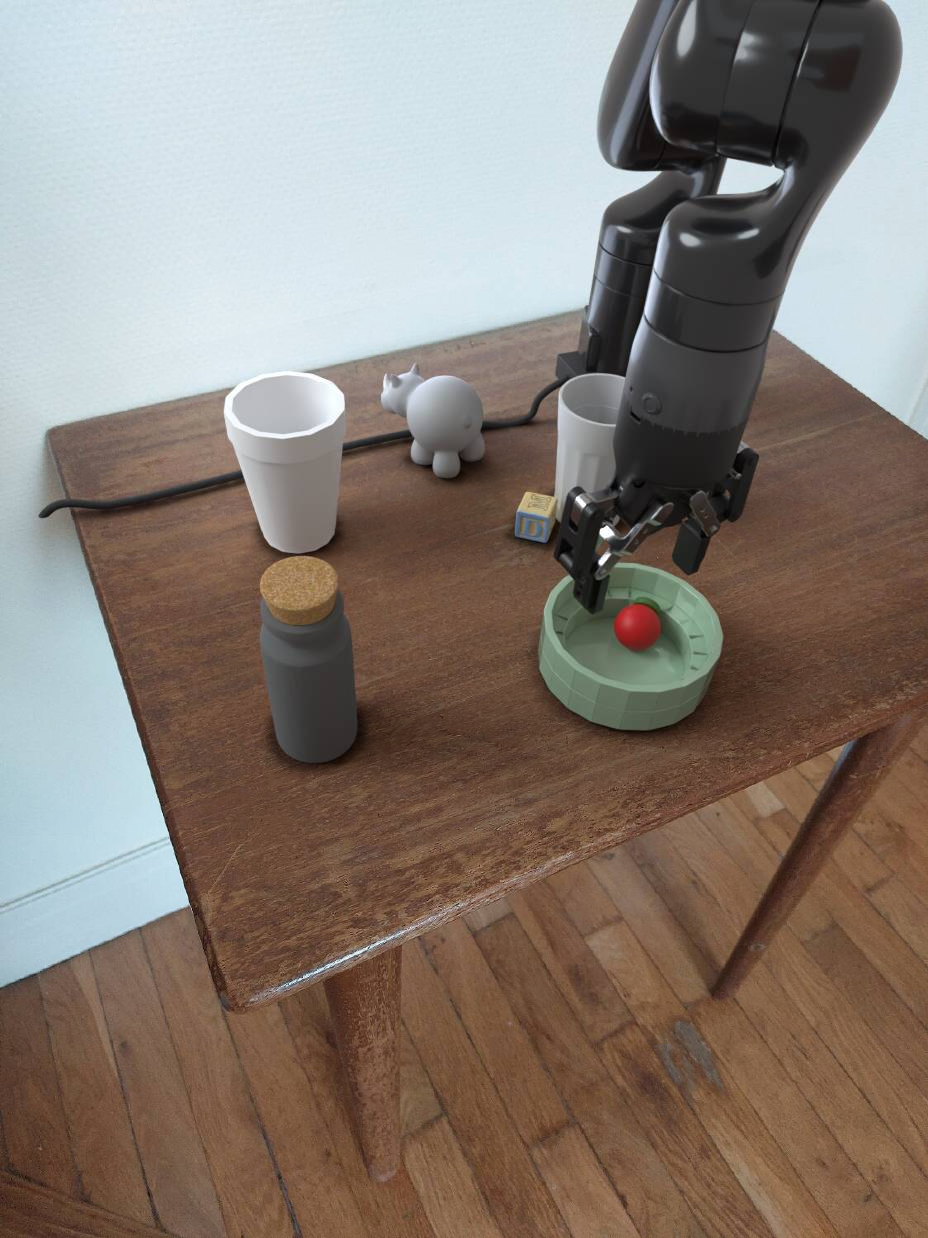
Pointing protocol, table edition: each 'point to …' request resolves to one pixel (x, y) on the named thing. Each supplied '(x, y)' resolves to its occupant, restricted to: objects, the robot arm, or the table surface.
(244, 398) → the foam cup
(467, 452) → the toy rhinoceros
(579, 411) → the cup
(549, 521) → the alphabet block
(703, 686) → the bowl
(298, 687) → the bottle
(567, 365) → the robot arm
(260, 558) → the table surface
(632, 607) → the toy tomato
